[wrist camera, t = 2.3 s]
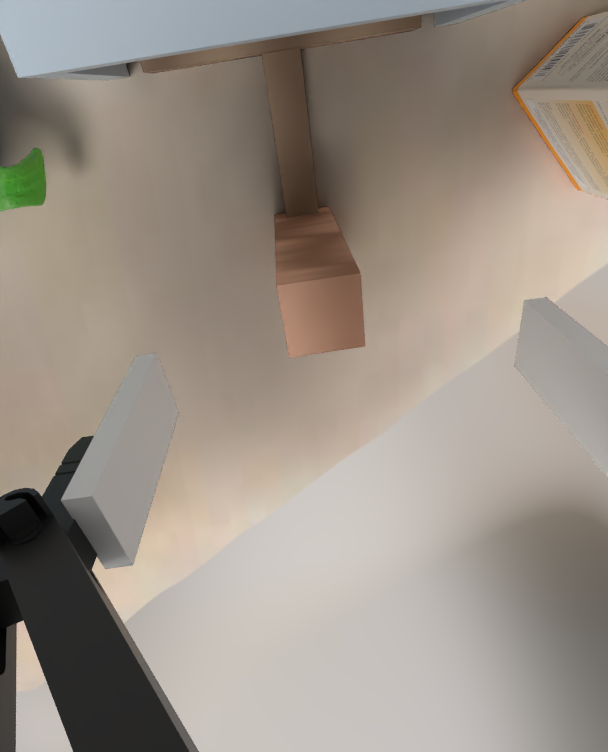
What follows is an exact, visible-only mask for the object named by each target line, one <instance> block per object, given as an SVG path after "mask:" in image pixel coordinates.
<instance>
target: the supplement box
mask: <svg viewBox="0 0 608 752" xmlns="http://www.w3.org/2000/svg"><path fill="white" fill-rule="evenodd" d="M512 92H513V94H514V95H515V97H516V98H517V100H518V102H519V103H520V105H521V106H522V108H523V110H524V111H525V112H526V114H527V115H528V117H529V118H530V120H531V122H532V123H533V124H534V126H535V128H536V129H537V131H538V132H539V134H540V135H541V137H542V138H543V140H544V141H545V143H546V144H547V146H548V148H549V149H550V150H551V152H552V153H553V154H554V156H555V157H556V159H557V160H558V162H559V163H560V165H561V166H562V168H563V169H564V170H565V172H566V174H567V175H568V177H569V178H570V180H571V181H572V183H573V184H574V186H575V187H576V188H577V190H580V191H583V192H586V193H589V194H592V195H595V196H598V197H601V198H605V199H608V12H602V13H599V14H595V15H591V16H586V17H583V18H581V20H580V21H579V22H578V23H577V24H575V26H574V27H573V28H572V29H571V30H570V31H569V32H568V33H567V34H566V35H565V36H564V37H563V38H562V39H561V41H559V42H558V43H557V44H556V45H555V47H554V48H553V49H552V50H551V51H550V52H549V53H548V54H547V55H546V56H545V57H544V58H543V59H542V60H541V61H540V62H539V63H538V64H537V65H536V66H535V67H534V68H533V69H532V70H531V71H530V72H529V74H527V75H526V76H525V77H524V78H523V80H521V81H520V82H519V83H518V84H517V85H516V86H515V87H514V88H513V90H512Z"/></svg>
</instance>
